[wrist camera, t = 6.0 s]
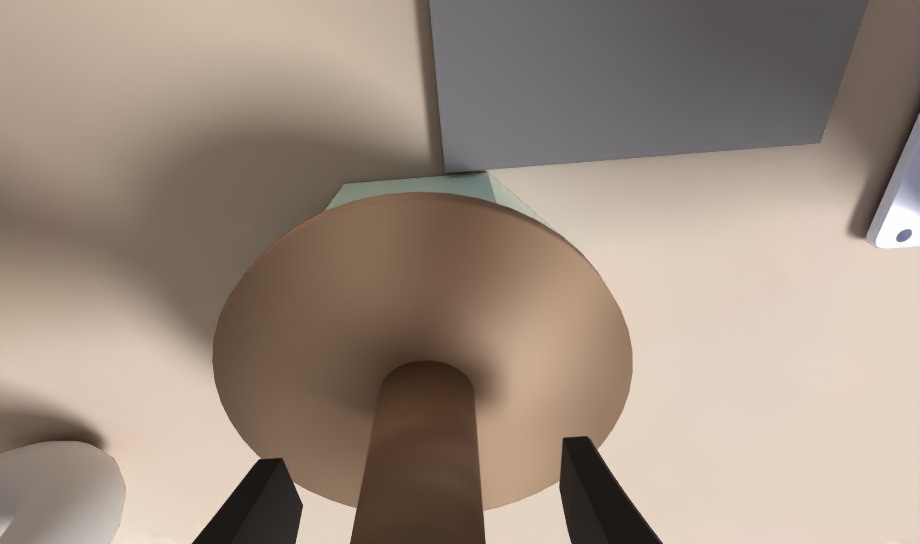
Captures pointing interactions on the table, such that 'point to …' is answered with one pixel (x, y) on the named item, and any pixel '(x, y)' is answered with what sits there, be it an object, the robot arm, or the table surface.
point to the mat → (633, 77)
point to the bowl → (436, 190)
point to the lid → (421, 360)
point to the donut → (59, 494)
